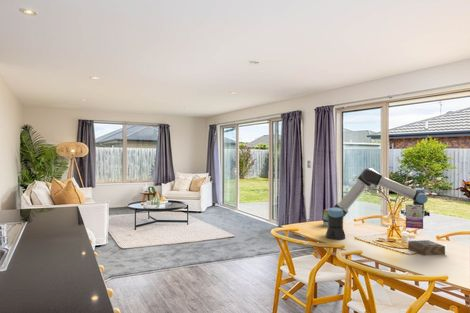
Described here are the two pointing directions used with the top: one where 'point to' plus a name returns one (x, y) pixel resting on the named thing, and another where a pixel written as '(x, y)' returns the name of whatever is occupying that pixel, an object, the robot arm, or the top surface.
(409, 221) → the candy bar box
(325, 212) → the tea box
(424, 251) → the walnut base
